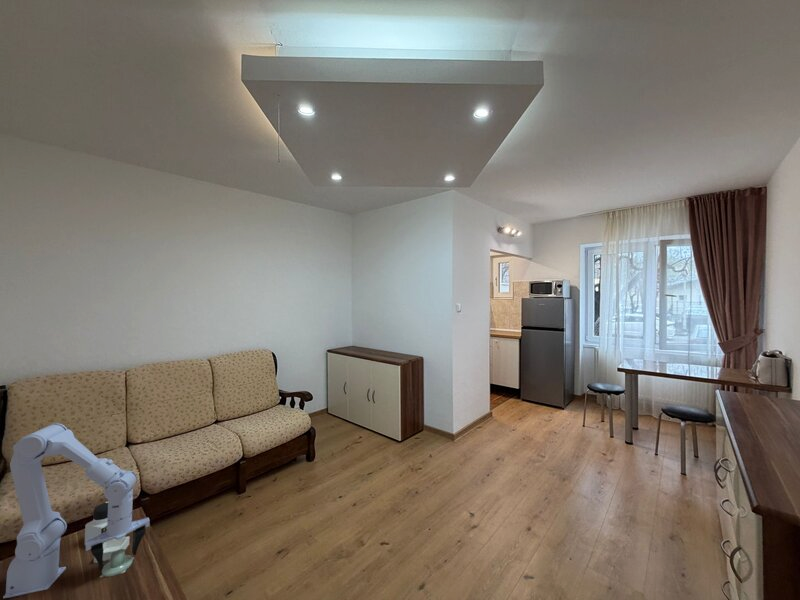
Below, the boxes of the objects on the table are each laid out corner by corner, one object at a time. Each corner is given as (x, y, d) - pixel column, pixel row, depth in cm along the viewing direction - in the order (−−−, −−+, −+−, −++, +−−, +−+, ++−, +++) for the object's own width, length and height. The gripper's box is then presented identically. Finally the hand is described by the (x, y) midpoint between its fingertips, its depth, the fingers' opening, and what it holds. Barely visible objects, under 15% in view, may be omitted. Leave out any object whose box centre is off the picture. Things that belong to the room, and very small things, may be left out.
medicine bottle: (100, 549, 103) (102, 512, 104) (83, 546, 105) (85, 509, 105) (123, 534, 110) (125, 499, 111) (107, 531, 112) (109, 497, 112)
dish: (93, 564, 97) (94, 554, 97) (105, 549, 103) (105, 540, 103) (118, 559, 99) (119, 550, 99) (129, 545, 105) (129, 536, 105)
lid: (96, 579, 92) (97, 564, 92) (109, 560, 98) (110, 547, 98) (125, 573, 94) (126, 558, 94) (136, 555, 100) (137, 542, 101)
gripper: (88, 533, 89) (85, 583, 88) (152, 510, 99) (150, 553, 99) (86, 522, 93) (83, 569, 93) (147, 500, 104) (145, 542, 104)
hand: (117, 560), depth 96 cm, fingers open, 7 cm apart
